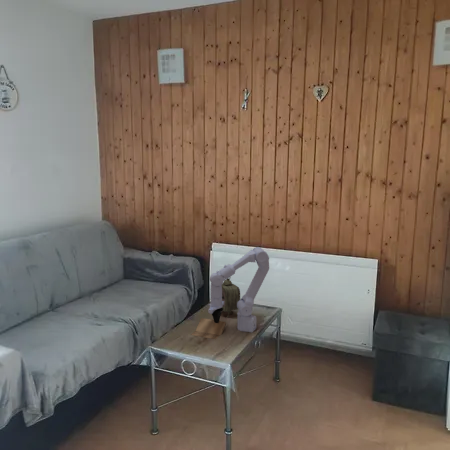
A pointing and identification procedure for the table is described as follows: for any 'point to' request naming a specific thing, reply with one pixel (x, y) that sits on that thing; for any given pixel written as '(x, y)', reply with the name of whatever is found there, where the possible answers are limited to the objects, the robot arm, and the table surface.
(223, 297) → the tabletop clock
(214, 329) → the board
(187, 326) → the table surface
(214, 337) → the laid row
